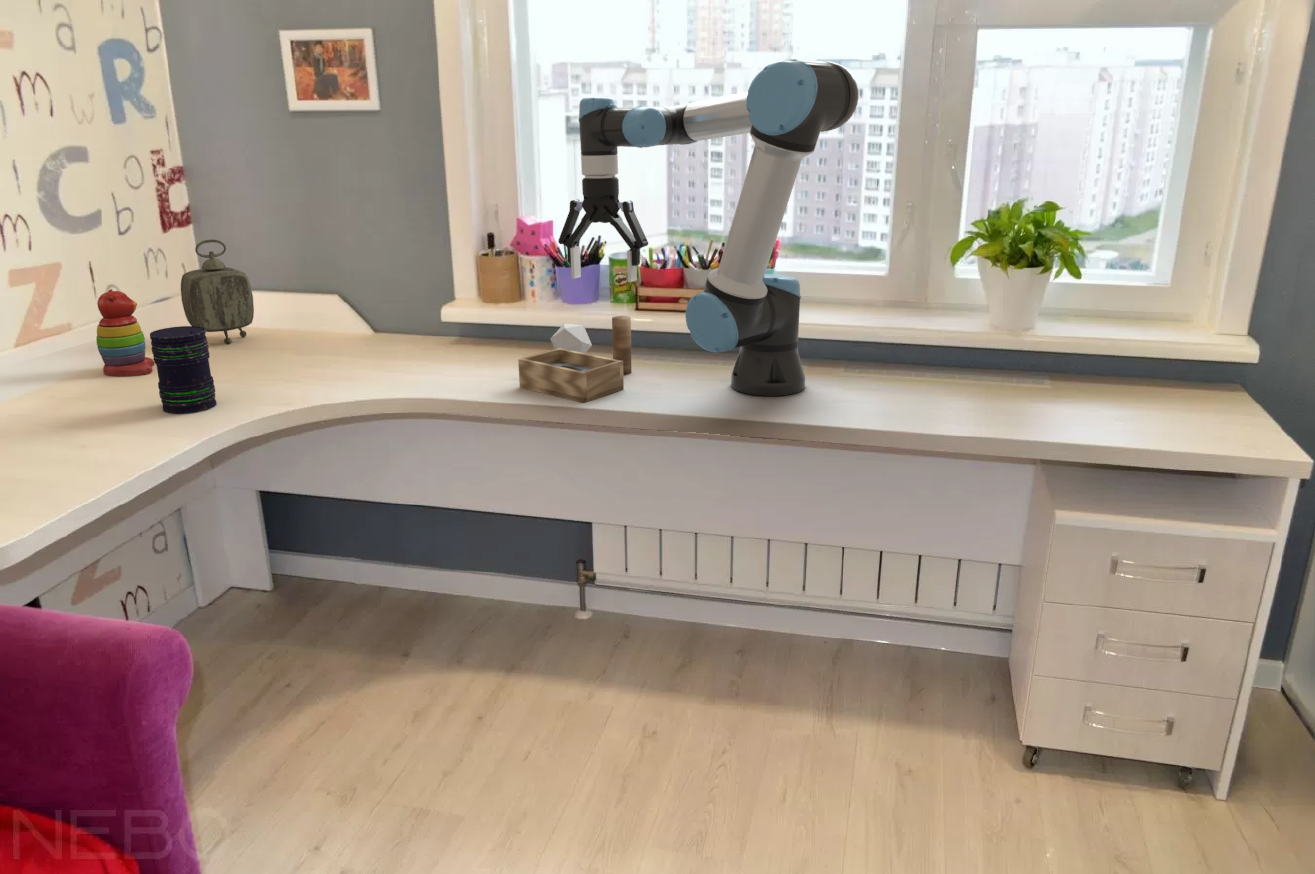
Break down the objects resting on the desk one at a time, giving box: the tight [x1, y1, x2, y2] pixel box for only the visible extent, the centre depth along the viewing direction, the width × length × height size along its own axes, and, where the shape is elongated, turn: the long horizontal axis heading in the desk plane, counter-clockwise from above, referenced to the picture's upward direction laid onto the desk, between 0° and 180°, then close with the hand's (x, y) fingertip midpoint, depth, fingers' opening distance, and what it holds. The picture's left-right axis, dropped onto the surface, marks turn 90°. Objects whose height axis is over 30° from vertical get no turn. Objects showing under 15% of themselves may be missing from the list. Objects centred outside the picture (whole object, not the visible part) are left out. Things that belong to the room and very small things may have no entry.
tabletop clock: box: [180, 238, 255, 345], centre depth 241 cm, size 14×9×25 cm, turn 130°
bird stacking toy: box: [96, 288, 155, 377], centre depth 217 cm, size 11×10×18 cm
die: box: [550, 323, 593, 354], centre depth 227 cm, size 8×9×10 cm
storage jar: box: [149, 325, 218, 415], centre depth 192 cm, size 10×10×15 cm
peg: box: [611, 315, 632, 376], centre depth 215 cm, size 4×4×12 cm
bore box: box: [517, 348, 625, 404], centre depth 204 cm, size 18×12×6 cm, turn 51°
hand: (604, 279), depth 212 cm, fingers open, 13 cm apart
